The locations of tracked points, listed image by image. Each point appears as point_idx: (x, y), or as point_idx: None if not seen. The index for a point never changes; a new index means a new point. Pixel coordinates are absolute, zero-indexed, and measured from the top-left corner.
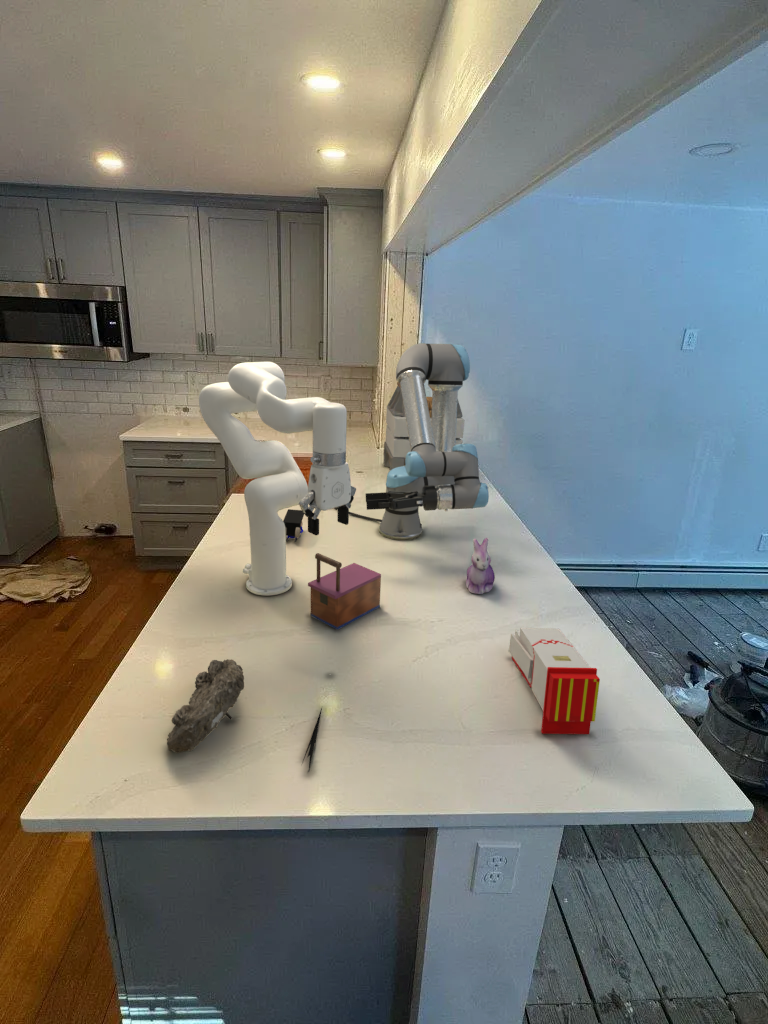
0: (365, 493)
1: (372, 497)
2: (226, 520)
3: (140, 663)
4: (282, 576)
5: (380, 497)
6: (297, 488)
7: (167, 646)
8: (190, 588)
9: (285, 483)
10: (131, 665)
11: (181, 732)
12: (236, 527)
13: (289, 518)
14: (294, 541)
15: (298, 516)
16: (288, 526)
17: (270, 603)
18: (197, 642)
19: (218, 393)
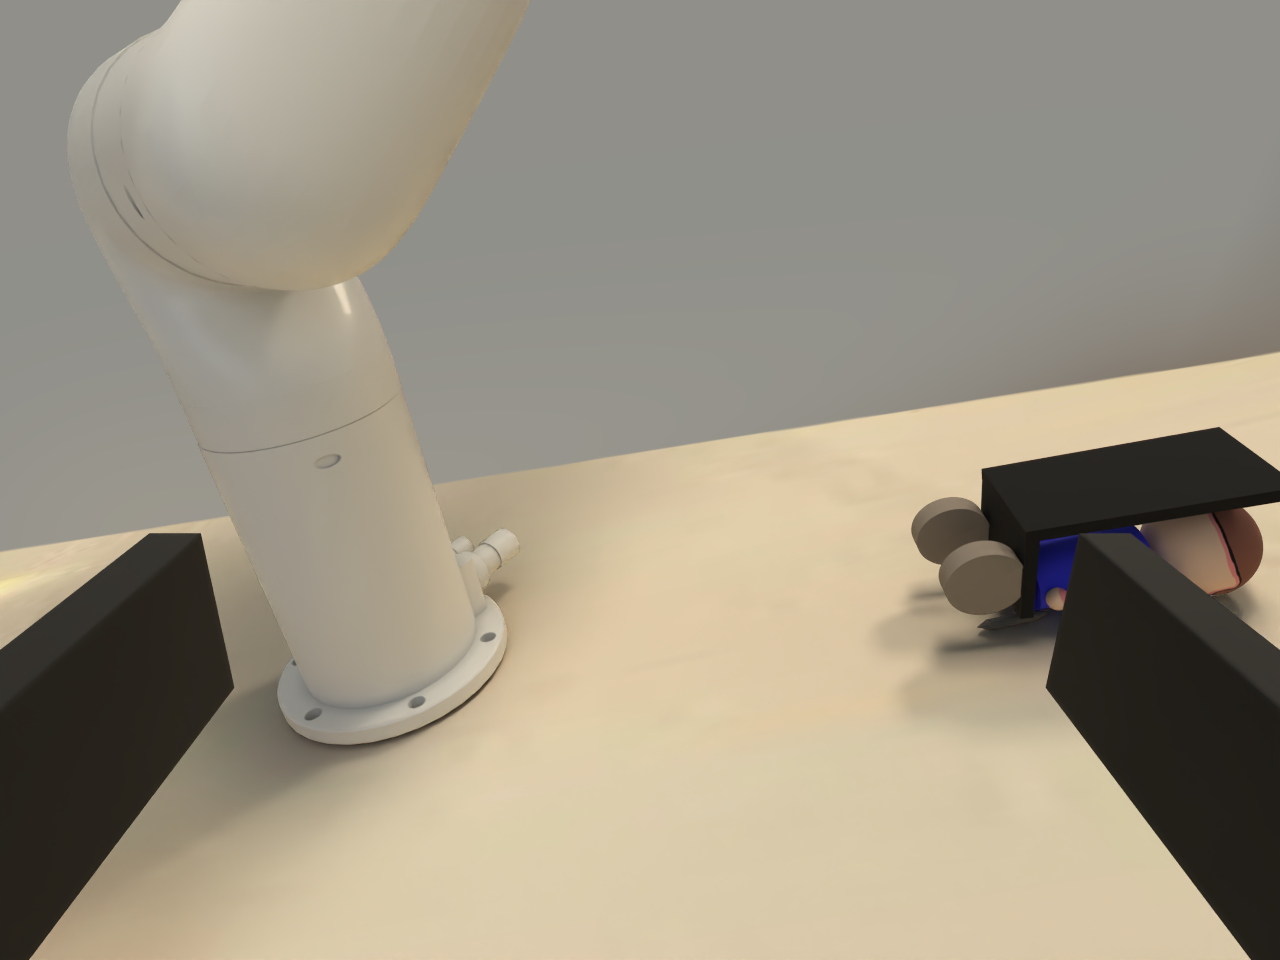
0: (1116, 533)
1: (1142, 694)
2: (1108, 385)
3: (40, 556)
4: (304, 659)
5: (1276, 856)
6: (113, 132)
7: (88, 568)
8: (438, 499)
9: (104, 81)
10: (44, 548)
11: None
12: (1049, 423)
13: (1064, 473)
14: (984, 621)
15: (1141, 492)
16: (995, 513)
17: (216, 712)
18: None
19: None
